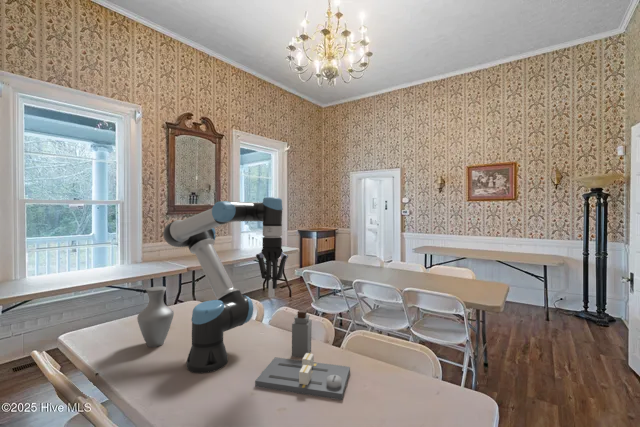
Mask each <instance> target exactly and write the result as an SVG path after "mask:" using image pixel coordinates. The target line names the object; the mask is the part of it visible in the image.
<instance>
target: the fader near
mask: <svg viewBox="0 0 640 427" xmlns="http://www.w3.org/2000/svg"><path fill="white" fill-rule="evenodd" d="M311 378H312V366H309V365H303V366H302V368H301V370H300V371H299V384H304V385H308V384H309V382H310V380H311Z"/></svg>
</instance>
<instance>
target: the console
mask: <svg viewBox="0 0 640 427" xmlns="http://www.w3.org/2000/svg"><path fill="white" fill-rule="evenodd" d="M301 368H302V359H301V360H300V359H292V358H285V357H274V358H273V359H272V360H271V361H270V362H269V364H268V365H267V366H266V367H265V368H264V370H263V371H262V372H261V373H260V375H258V377H257V378H256V379H255V382H254V387H255V388H263V389H267V390H268V389H269V390H275V391H282V392H288V393H295V394H301V395H307V396H312V397H319V398H326V399H332V400H333V399H334V400H339V401H342V400H343V399H344V395H345V391H346V388H347V386H348V385H347V384H348V381H349V376H350V373H351V366H346V365H339V364H331V363H324V362H315V361H314V365H313V367H312V378H311V380H310V382H309V384H308V385H304V384H299V371H300V370H301Z"/></svg>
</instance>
